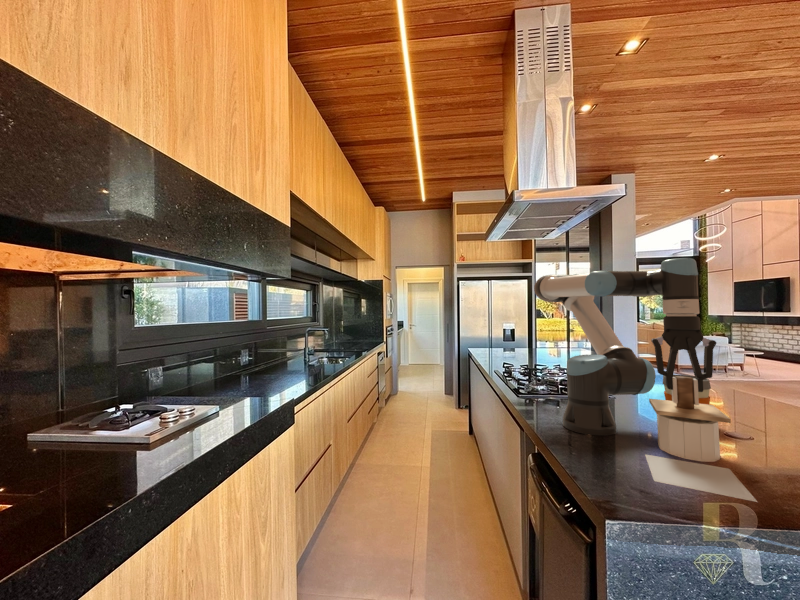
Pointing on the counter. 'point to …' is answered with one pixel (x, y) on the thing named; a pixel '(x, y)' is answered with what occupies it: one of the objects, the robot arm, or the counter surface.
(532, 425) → the counter surface
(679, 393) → the oak cover
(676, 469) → the grey mat
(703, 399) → the reusable coffee cup
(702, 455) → the ceramic bowl
